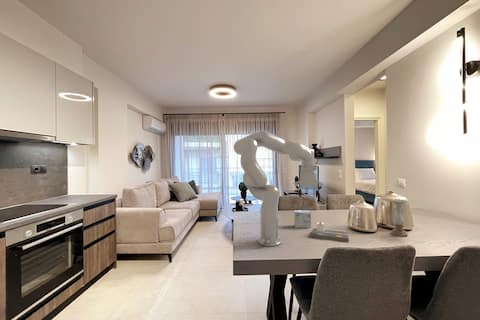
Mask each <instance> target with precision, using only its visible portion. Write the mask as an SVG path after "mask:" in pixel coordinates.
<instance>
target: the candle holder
mask: <svg viewBox="0 0 480 320" xmlns="http://www.w3.org/2000/svg"><path fill="white" fill-rule="evenodd" d="M390 202H391V203H394V206H395V207H394V210H395V216H394V217H393V221H392V222H393V223H394V225H393V226H394V227H395V228H393V229H392V230H390V232H389V233H390V234H391V235H393V236H398V237H408V236H409V233H408V232H407V231H406V230H405V229H403V228H404V224H405V219H404V218H403V215H402V210H403V208H402V206H403V204H406V203H407V201H406V200H404V199H391V200H390Z"/></svg>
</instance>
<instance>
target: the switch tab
mask: <svg viewBox="0 0 480 320" xmlns="http://www.w3.org/2000/svg"><path fill="white" fill-rule="evenodd" d="M316 228H317V231H323V232H324V231H325V229H326V228H325V222H322V221H319V222H318V221H317V223H316Z"/></svg>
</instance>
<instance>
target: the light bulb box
mask: <svg viewBox="0 0 480 320" xmlns="http://www.w3.org/2000/svg"><path fill="white" fill-rule="evenodd" d="M293 219H294V220H293V221H294V223H293V224H294V227H295V229H312V212H311V211H310V210H309V209H308V210H305V209H304V210H303V209H301V210H300V209H299V210H295V209H294V210H293Z"/></svg>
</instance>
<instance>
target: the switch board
mask: <svg viewBox="0 0 480 320" xmlns="http://www.w3.org/2000/svg"><path fill="white" fill-rule="evenodd" d="M310 238H312V239H319V238H320V239H321V240H329V241H336V242H347V243H349V242H350V237H349V232H348V231H347V230H338V229H328V228H327V229H326V228H325V231H324V232H323V231H317V227H313V228H312V230H311V233H310Z"/></svg>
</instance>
